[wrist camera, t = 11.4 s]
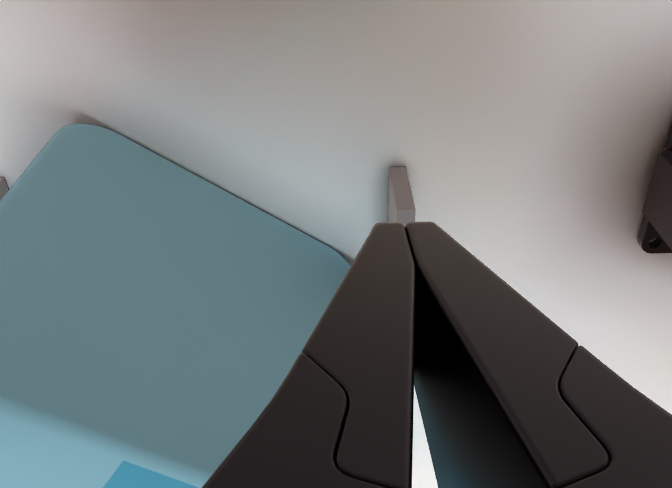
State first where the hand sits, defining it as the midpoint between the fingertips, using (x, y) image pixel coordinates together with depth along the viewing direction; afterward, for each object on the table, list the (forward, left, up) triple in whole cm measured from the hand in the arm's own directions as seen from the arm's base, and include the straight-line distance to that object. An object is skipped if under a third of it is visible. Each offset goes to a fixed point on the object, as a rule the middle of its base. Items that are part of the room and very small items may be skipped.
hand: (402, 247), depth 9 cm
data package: (+6, +8, -13) cm, 17 cm away
